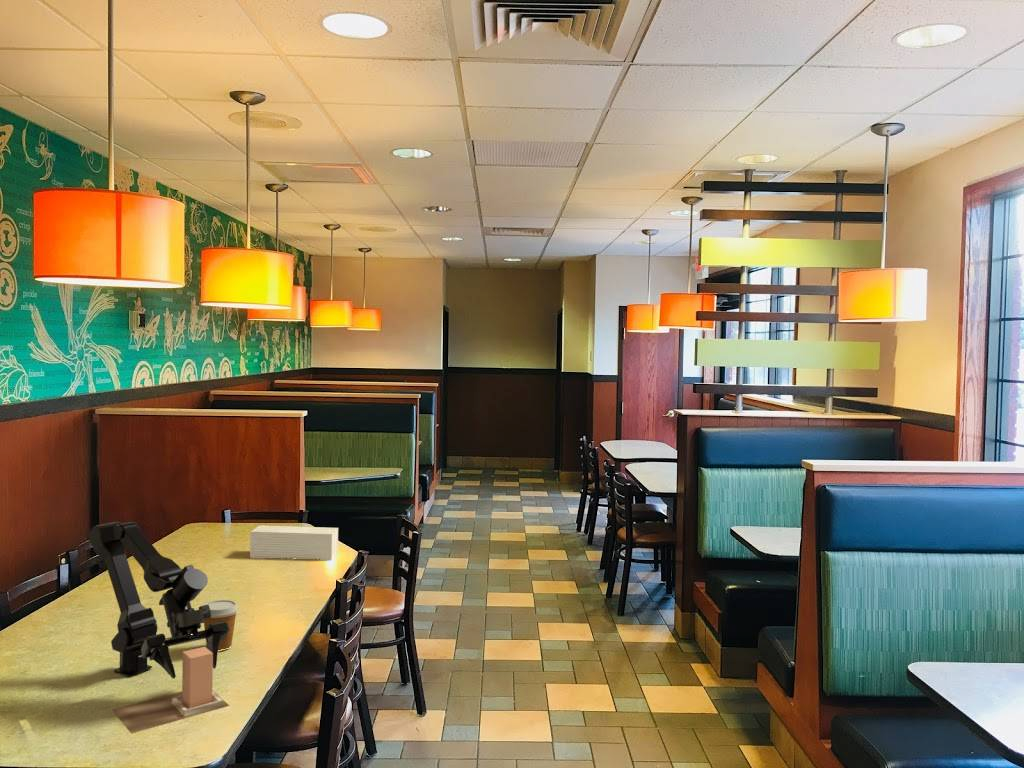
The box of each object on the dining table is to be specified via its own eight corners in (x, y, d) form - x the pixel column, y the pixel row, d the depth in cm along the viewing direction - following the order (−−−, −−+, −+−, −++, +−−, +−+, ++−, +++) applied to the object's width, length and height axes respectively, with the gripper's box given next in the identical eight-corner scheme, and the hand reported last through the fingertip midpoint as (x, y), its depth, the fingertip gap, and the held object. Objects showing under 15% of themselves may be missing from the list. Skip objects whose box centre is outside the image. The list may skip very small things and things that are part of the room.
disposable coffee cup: (241, 641, 220) (242, 599, 220) (230, 654, 211) (231, 610, 210) (207, 641, 220) (208, 598, 220) (195, 654, 211) (195, 610, 210)
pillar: (182, 703, 179) (182, 651, 179) (203, 697, 183) (204, 646, 182) (189, 711, 176) (190, 658, 175) (212, 704, 179) (212, 653, 178)
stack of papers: (337, 554, 317) (338, 527, 317) (331, 561, 307) (332, 533, 306) (258, 551, 317) (259, 525, 317) (249, 558, 307) (250, 531, 306)
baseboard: (112, 713, 176) (112, 704, 175) (206, 688, 190) (206, 680, 190) (131, 737, 165) (131, 727, 165) (229, 709, 179) (229, 700, 179)
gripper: (145, 602, 177) (161, 666, 169) (227, 587, 189) (245, 646, 182) (134, 626, 183) (148, 689, 175) (214, 610, 195) (231, 668, 188)
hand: (195, 672), depth 180 cm, fingers open, 9 cm apart
